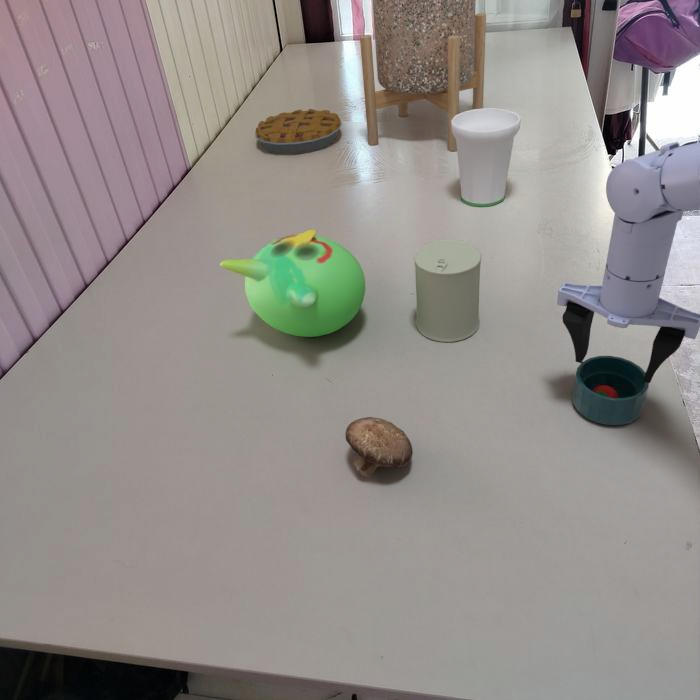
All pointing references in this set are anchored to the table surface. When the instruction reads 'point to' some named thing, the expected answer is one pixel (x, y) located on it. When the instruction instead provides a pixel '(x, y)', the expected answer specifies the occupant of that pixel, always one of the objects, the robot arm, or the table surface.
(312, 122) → the pie
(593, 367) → the bowl
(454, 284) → the can
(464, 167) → the cup
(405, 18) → the planter
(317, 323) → the toy bird
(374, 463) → the mushroom
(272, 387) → the table surface
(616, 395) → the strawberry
